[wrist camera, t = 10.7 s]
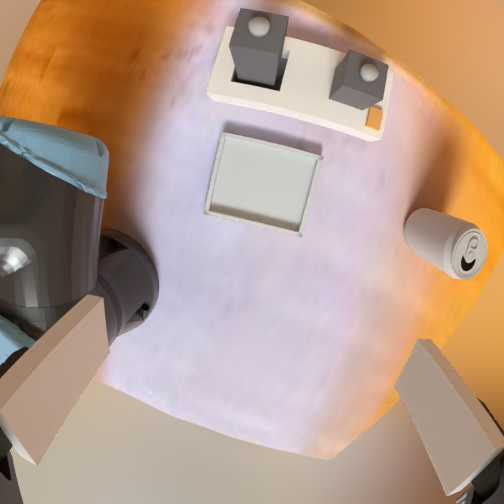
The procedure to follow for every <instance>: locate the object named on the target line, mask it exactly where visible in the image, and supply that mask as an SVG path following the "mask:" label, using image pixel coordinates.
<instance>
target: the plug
mask: <svg viewBox="0 0 504 504" xmlns="http://www.w3.org/2000/svg"><path fill="white" fill-rule="evenodd" d="M288 19H289V17H288V16H283V15H278V14H273V13H268V12H262V11H256V10H249V9H242V8H241V9H240V12H239V15H238V18H237V21H236V24H235V27H234V30H233V33H232V36H231V39H230V42H229V48H230V51H231V55H232V58H233V62H234V65H235V68H236V72H237V75H238V79H239V82H240V83H242V84H247V85H252V86H257V87H262V88H267V89H271V90H274V86H275V82H276V78H277V74H278V71H279V67H280V63H281V57H282V52H283V46H284V41H285V35H286V30H287V24H288Z"/></svg>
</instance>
